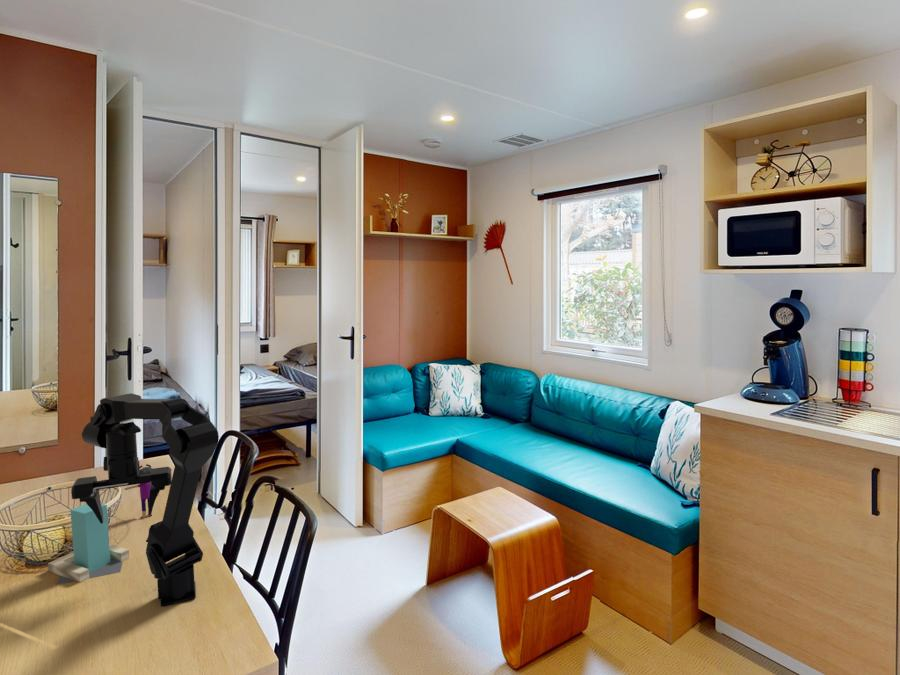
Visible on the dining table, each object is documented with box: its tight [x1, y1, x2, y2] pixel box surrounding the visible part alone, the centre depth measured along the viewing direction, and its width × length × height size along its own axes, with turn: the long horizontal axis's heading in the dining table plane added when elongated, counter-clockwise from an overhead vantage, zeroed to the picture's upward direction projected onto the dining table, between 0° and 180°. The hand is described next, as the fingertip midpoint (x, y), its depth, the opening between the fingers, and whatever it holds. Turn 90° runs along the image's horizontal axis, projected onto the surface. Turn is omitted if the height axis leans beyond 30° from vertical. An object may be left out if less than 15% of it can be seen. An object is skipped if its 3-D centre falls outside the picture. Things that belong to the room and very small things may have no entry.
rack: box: [47, 543, 130, 583], centre depth 126 cm, size 11×12×2 cm
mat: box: [55, 558, 123, 586], centre depth 125 cm, size 12×12×1 cm
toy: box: [124, 463, 153, 519], centre depth 150 cm, size 10×6×15 cm, turn 136°
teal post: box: [69, 503, 111, 573], centre depth 124 cm, size 5×5×14 cm
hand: (126, 518), depth 121 cm, fingers open, 9 cm apart
